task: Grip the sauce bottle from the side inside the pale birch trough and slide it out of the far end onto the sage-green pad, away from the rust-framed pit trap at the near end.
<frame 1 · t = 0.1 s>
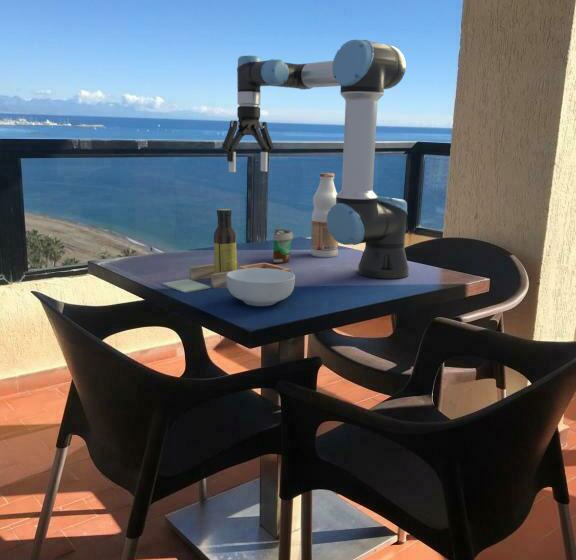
hand: (248, 171, 201), 28 cm above the table, tool pointing down, fingers open, 13 cm apart
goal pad: (186, 286, 161), on the table
cereal bowl: (260, 302, 147), on the table
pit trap: (264, 272, 179), on the table
food container: (283, 262, 195), on the table
sauce bottle: (225, 280, 169), on the table
fruit juice: (324, 255, 208), on the table
trough: (225, 279, 169), on the table
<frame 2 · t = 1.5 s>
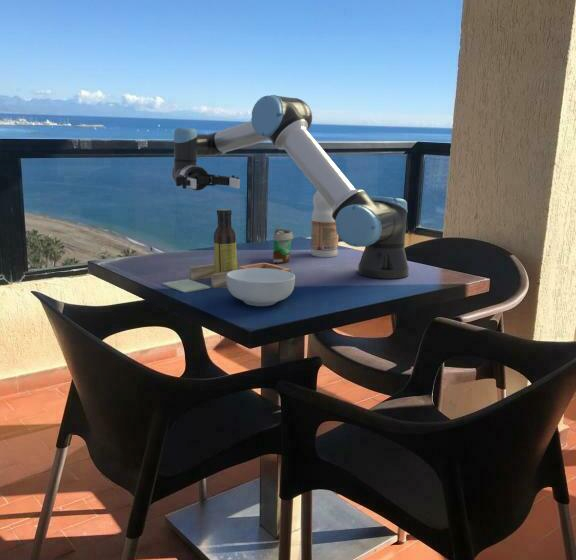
hand: (217, 184, 177), 26 cm above the table, tool horizontal, fingers open, 13 cm apart
nothing on the table moved.
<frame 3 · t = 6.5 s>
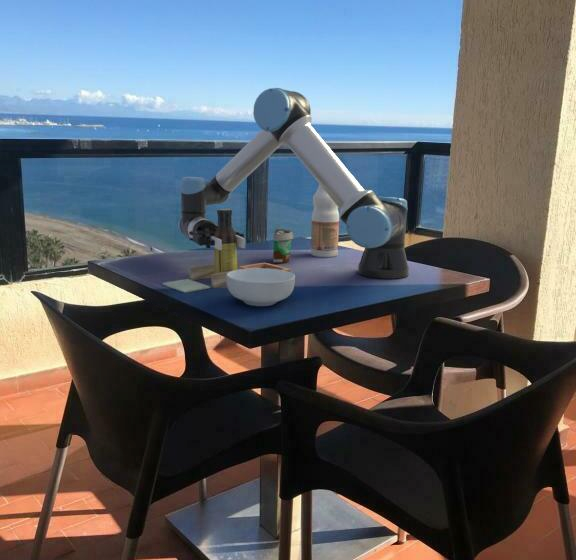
hand: (232, 244, 162), 11 cm above the table, tool horizontal, fingers closed on sauce bottle, 6 cm apart
sauce bottle: (225, 280, 169), on the table, touching gripper
everything else where it was.
when the fingers open (12 cm above the table, at t = 10.9 s): sauce bottle stays where it is, resting on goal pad.
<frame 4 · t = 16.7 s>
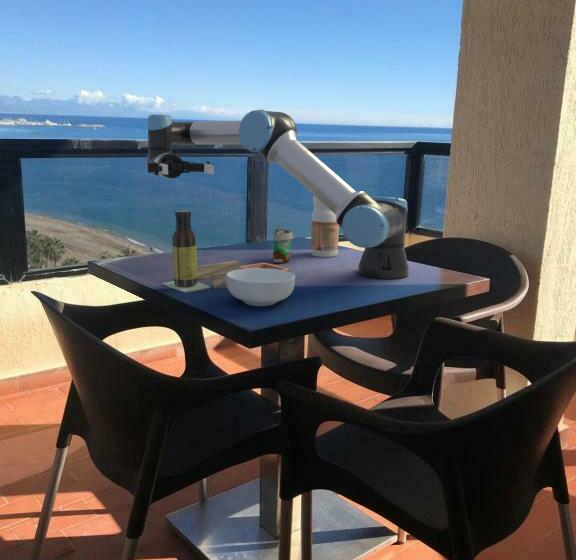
hand: (190, 169, 170), 30 cm above the table, tool horizontal, fingers open, 13 cm apart
sauce bottle: (185, 285, 161), resting on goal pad
everything else where it was.
at the end: sauce bottle inside the target area (0.2 cm from its centre), resting on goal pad; sauce bottle tilted 0°; the gripper is holding nothing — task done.
